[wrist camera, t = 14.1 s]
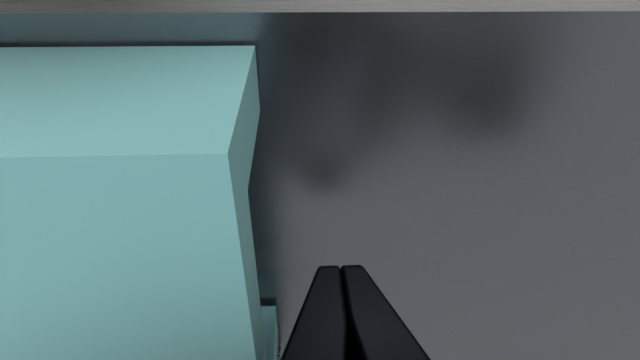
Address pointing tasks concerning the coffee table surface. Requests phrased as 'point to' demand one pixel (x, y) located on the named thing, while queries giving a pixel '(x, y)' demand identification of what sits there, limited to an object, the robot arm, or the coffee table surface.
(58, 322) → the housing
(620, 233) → the metal cubes
